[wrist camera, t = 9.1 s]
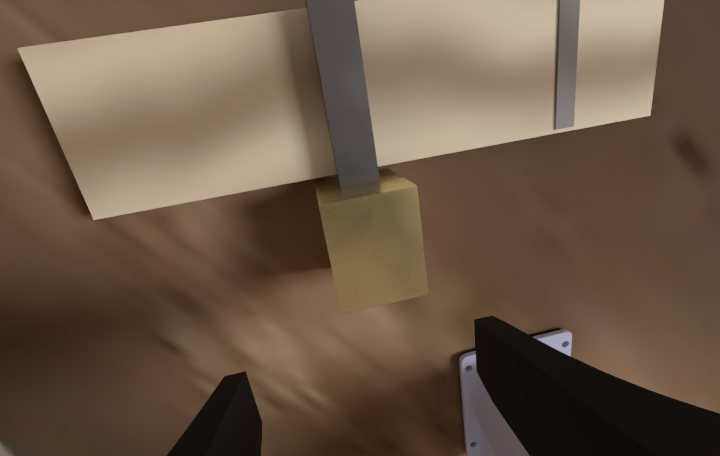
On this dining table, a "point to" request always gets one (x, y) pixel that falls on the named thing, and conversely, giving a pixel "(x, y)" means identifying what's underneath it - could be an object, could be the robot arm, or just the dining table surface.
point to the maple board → (304, 96)
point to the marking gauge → (361, 178)
